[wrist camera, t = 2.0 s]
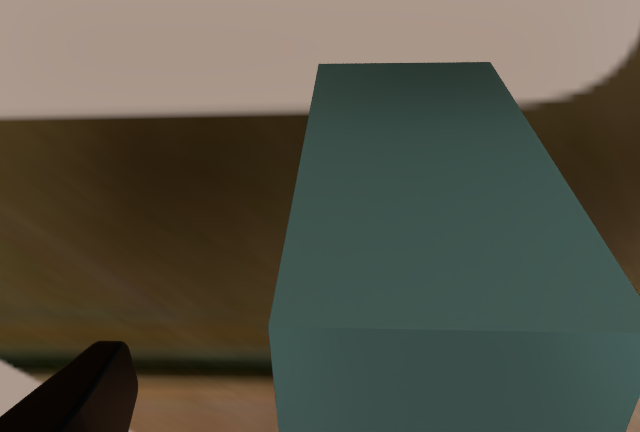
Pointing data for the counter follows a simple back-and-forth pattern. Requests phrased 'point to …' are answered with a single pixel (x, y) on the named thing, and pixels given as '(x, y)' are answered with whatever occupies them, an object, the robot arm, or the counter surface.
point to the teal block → (443, 268)
